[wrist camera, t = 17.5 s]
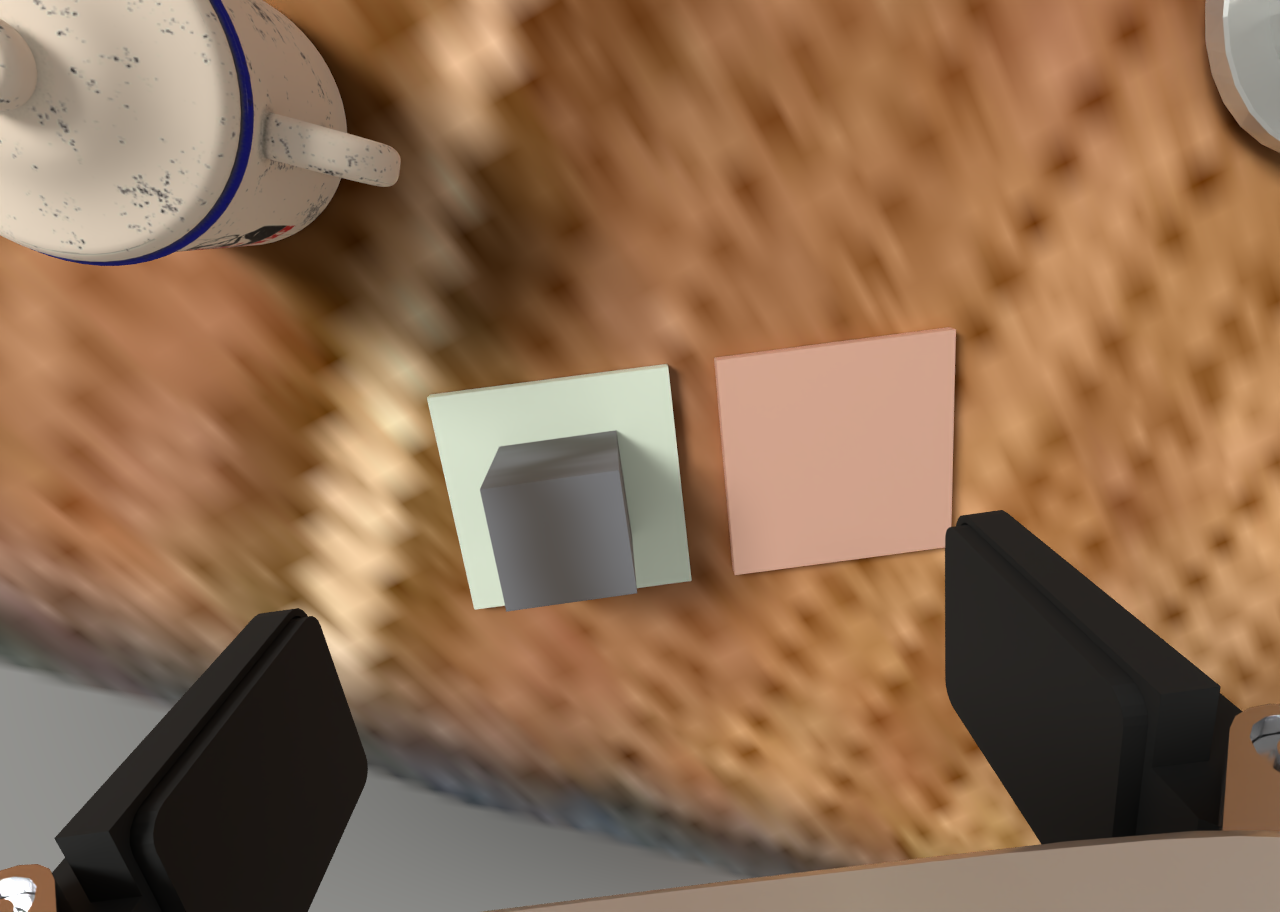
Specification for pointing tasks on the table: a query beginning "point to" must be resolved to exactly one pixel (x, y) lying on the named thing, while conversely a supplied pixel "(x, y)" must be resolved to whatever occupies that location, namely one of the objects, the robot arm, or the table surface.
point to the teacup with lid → (167, 128)
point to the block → (559, 521)
